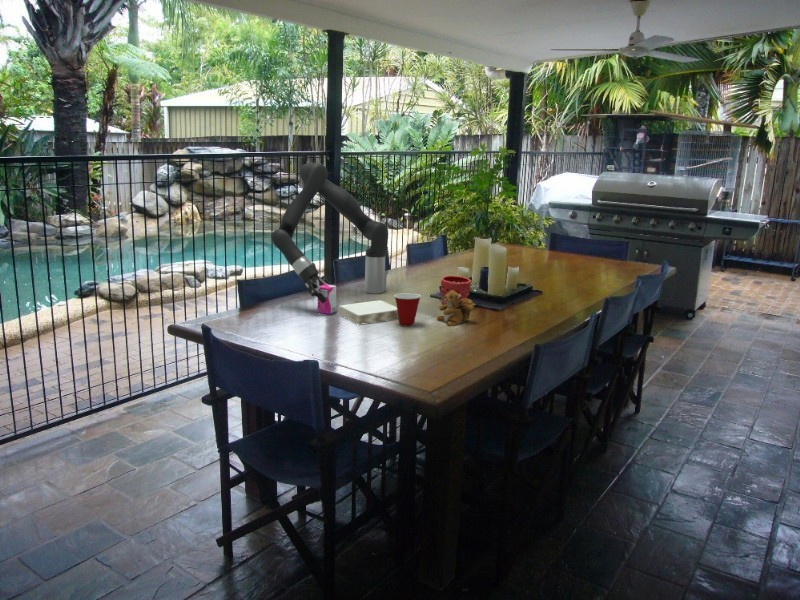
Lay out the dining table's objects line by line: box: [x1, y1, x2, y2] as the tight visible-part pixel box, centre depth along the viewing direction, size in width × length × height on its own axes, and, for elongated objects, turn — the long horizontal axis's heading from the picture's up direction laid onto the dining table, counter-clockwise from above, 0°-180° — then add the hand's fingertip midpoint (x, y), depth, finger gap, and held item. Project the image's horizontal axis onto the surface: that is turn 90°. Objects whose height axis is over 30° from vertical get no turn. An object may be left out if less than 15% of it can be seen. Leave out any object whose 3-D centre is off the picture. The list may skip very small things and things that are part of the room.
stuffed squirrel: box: [436, 290, 476, 327], centre depth 265 cm, size 10×14×13 cm
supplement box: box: [317, 284, 337, 316], centre depth 271 cm, size 6×6×12 cm
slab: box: [338, 299, 399, 325], centre depth 268 cm, size 20×16×4 cm
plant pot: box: [440, 275, 472, 305], centre depth 291 cm, size 13×13×12 cm
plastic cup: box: [393, 292, 422, 327], centre depth 259 cm, size 11×11×12 cm
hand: (329, 299), depth 270 cm, fingers open, 8 cm apart
